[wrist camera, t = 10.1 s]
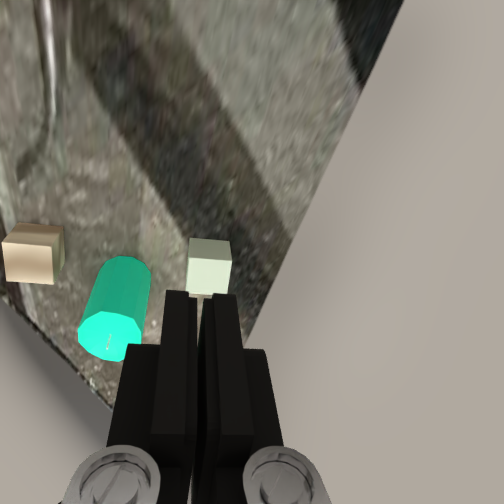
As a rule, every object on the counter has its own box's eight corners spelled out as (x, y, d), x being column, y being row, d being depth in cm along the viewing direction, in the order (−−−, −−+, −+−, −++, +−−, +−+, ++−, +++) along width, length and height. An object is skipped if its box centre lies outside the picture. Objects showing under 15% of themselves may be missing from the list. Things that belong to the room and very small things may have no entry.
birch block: (18, 222, 46) (1, 242, 42) (63, 226, 46) (51, 246, 42) (22, 258, 48) (6, 281, 44) (65, 262, 48) (53, 284, 45)
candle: (157, 294, 52) (147, 366, 42) (107, 302, 52) (84, 377, 41) (144, 251, 49) (130, 318, 38) (91, 260, 49) (63, 329, 38)
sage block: (189, 237, 49) (189, 257, 45) (229, 240, 49) (231, 261, 46) (186, 271, 51) (185, 292, 47) (224, 273, 52) (226, 295, 48)
